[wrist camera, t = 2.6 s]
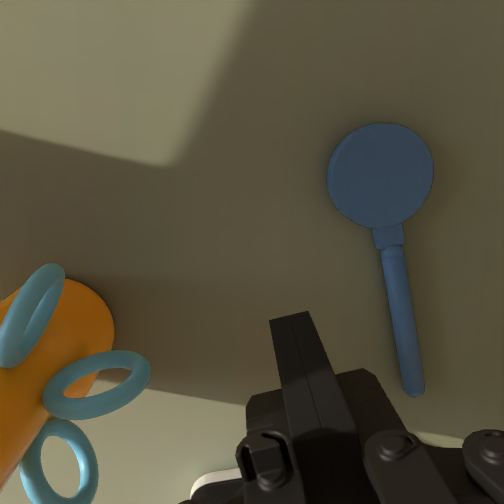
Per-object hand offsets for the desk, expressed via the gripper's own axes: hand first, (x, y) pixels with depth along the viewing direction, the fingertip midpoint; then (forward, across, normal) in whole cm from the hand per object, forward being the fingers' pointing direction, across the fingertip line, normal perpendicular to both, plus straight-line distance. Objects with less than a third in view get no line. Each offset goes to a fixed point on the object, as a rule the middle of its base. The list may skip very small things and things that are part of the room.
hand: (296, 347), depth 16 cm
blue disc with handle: (+8, +6, -1) cm, 10 cm away
